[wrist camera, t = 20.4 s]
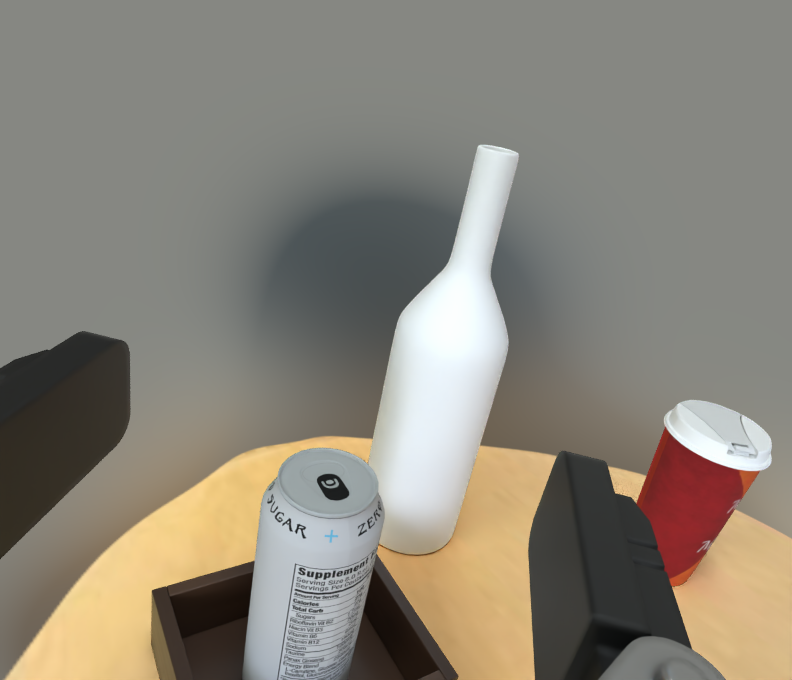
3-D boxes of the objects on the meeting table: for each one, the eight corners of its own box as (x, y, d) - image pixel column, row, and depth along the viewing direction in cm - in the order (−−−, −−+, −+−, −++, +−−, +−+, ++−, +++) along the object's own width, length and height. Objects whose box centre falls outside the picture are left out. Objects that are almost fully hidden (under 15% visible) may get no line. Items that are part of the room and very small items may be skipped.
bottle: (392, 569, 45) (494, 160, 32) (340, 500, 50) (409, 129, 37) (473, 538, 49) (591, 169, 36) (417, 477, 55) (502, 140, 42)
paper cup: (718, 604, 48) (801, 464, 42) (624, 588, 47) (695, 445, 41) (679, 533, 55) (746, 404, 49) (598, 519, 54) (655, 387, 48)
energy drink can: (321, 623, 39) (357, 432, 32) (362, 708, 34) (414, 507, 28) (228, 654, 36) (247, 451, 29) (260, 752, 31) (291, 538, 25)
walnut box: (350, 577, 43) (360, 529, 41) (441, 727, 35) (459, 675, 33) (150, 643, 36) (151, 589, 34) (203, 853, 28) (208, 797, 26)
